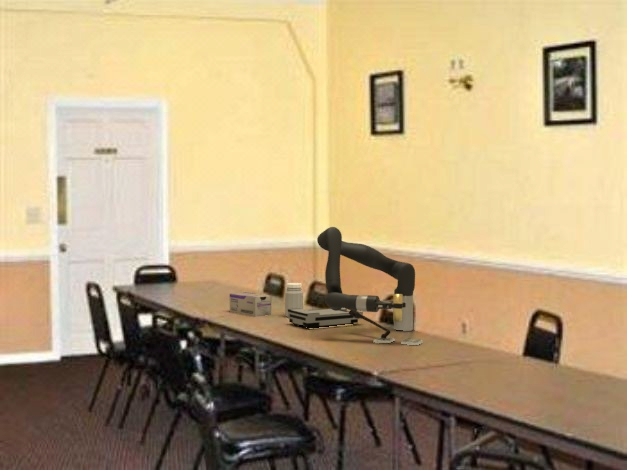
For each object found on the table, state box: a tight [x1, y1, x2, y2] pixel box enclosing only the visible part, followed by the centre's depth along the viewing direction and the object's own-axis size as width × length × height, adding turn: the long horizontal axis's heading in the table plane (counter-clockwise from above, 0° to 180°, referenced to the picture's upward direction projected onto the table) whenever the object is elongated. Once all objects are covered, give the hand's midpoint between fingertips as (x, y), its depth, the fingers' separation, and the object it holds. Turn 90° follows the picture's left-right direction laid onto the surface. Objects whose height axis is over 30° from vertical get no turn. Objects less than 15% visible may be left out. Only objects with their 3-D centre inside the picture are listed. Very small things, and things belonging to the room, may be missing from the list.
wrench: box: [348, 310, 391, 338], centre depth 456 cm, size 5×5×30 cm
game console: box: [287, 307, 364, 329], centre depth 494 cm, size 21×32×8 cm, turn 119°
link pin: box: [392, 293, 402, 322], centre depth 437 cm, size 4×4×12 cm
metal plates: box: [373, 336, 424, 346], centre depth 438 cm, size 8×20×2 cm, turn 67°
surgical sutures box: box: [229, 291, 272, 318], centre depth 538 cm, size 25×11×11 cm, turn 38°
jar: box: [284, 282, 304, 318], centre depth 524 cm, size 10×10×18 cm
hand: (403, 305), depth 436 cm, fingers closed on link pin, 4 cm apart
